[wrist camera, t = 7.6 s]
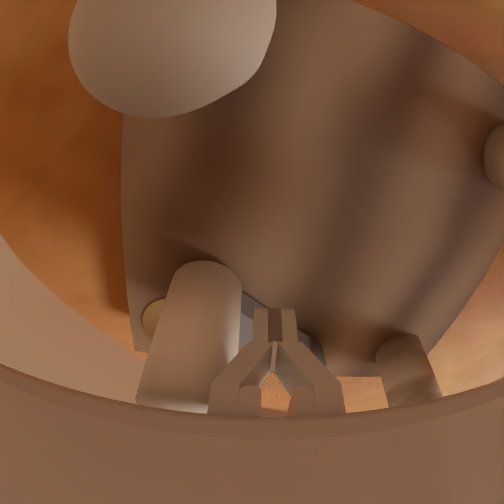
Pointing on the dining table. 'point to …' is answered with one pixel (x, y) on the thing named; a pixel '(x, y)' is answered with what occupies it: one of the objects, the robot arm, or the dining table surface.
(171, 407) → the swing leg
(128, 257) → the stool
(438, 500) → the robot arm
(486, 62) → the dining table surface
